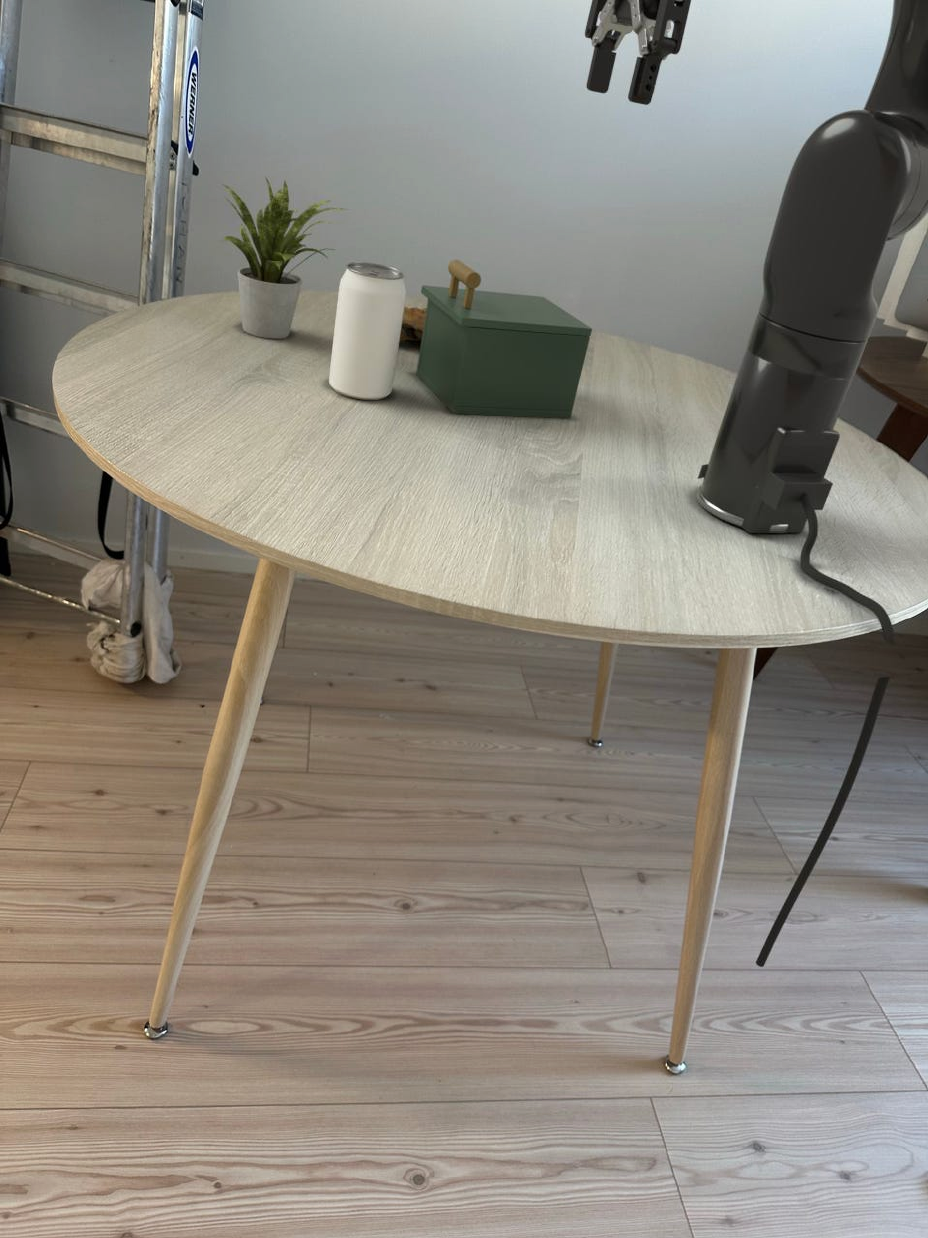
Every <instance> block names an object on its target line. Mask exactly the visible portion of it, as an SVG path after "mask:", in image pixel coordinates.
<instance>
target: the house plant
mask: <svg viewBox="0 0 928 1238" xmlns="http://www.w3.org/2000/svg"><path fill="white" fill-rule="evenodd" d="M264 177H265V181H266V185H267V190H268V195H269V203H268V204H267V205H266V206H265V208H264V211H263V209H262V208H261V209H260V210H259V211H258V213H257V216H256V224H255V221H254V219H253V217H252V214H251V212H250V210H249V208H248V206H247V205H246V203H245V202H244V201H243V199H242V198H241V197H240V196H239V195H238V194H237V193H236V192H235V191H234V190H233V189H232V188H231V187H229V186H227V185H226V184H225V183H222V185H223V186H224V187H225V188H226V190H228V192H229V193H230V194H231V196H232V198H233V199H234V201H235V203H236V204H237V207H238V208H239V210H238V209H237V207H236V206H235V205H234V204H233V202H232V201H231V200H230V199H228V198H227V197H226V196H224V198H225V200H226V201H228V203H229V204H230V205H231V207H233V209H234V210H235V211H236V214H237V215H238V217H239V218H240V219H241V220H242V222H243V224H242V223H241V224H240V237H241V239H240V238H238V237H235V236H232V235H228V236H225V237H223V238H221V240H220V241H219V243H221V242H223V241H225V242H226V241H227V242H231V243H232V244H233V245H234V246H236V248H237V249H239V251H241V253H242V254H243V255H244V257H245V258H246V261H247V262H248V265H249V266H245V267H241V268H239V269H238V270H237V280H238V291H239V301H240V313H241V322H242V324H241V325H242V330H243V331H244V332H246V333H248V334H249V335H252V336H255V337H259V338H263V339H264V338H265V339H285V338H288V337H289V335H290V332H291V328H292V324H293V319H294V317H295V312H296V308H297V304H298V301H299V297H300V293H301V288H302V285H303V279H302V278H301V277H300V276H298V275H296V274H294V273H291V272H292V271H293V270H295V269H296V268H297V267H298V266H299V265H301V264H302V263H303V262H305V261H307V260H308V259H309V258H310V257H312V256H313V255H316V254H317V253H318V254H321V255H322V256H323V257H325V258H326V259H328V256H327V255H326V254H324V253H323V252H322V251H335V249H333V248H322V249H319V250H318V249H317V248H312V247H311V248H310V247H307V246H306V244H302V243H301V242H302V241H303V240H304V239H305V238H306V237H308V236H312V233H306V232H307V230H309V229H310V228H311V227H313V226H315V225H318V224H322V223H323V224H325V223H326V224H332V222H330V221H326V220H318V221H316V222H314V223H312V224H310V225H308V227H306V229H305V230H304V231H303V232H302V233H301V234H300V235H299V233H300V232H301V230H302V229H303V227H304V226H305V225H306V224H307V223H308V221H310V220H311V219H312V218H313V217H315V216H317V215H318V214H320V213H323V212H325V211H329V210H339V211H340V210H345V211H347V210H348V209H347V208H342V207H326V208H321V209H319V208H320V207H321V206H322V205H325V204H327V203H329V202H330V203H331V200H323V201H318V202H316V203H313V204H312V205H310V206H308V208H306V209H305V210H304V211H303V212H302V213H300V215H298V217H294V218H293V215H294V212H297V213H298V212H299V210H297V209H294V210H292V209H290V196H289V195H290V194H289V186H288V183H287V182H286V179H284V181H283V186H282V188H281V189H279V190H278V191H277V192H276V193H275V194H274V193H273V190H272V186H271V183H270V181H269V180H268V178H267V176H264ZM239 211H240V212H239ZM292 222H293V223H292ZM291 223H292V225H291ZM290 225H291V226H290ZM245 226H246V227H245ZM289 227H290V228H289ZM246 228H247V230H248V233H249V234H250V237H251V240H252V242H251V240H250V237H249V235H248V233H247V230H246ZM287 230H288V231H287ZM298 235H299V236H298ZM252 243H253V244H252ZM253 245H254V246H253ZM303 247H304V248H303ZM304 252H305V253H306V252H313V253H311V254H310V255H308V257H306V258H304V260H302V261H301V262H299V263H298V264H296V265H295V266H294V267H292V269H291V270H290V271H286V270H285V268H286V267H287V266H288V264H289V263H290V261H291V260H293V259H294V258H295V257H296V256H298V255H299V254H301V253H304Z"/></svg>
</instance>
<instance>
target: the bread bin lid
mask: <svg viewBox="0 0 928 1238" xmlns="http://www.w3.org/2000/svg"><path fill="white" fill-rule="evenodd" d="M447 271H448V273H449V274H450V275H451V278H450V283H449V287H446V286H445V287H444V286H436V285H435V286H434V285H425V284H422V285H421V290H420V293H421V294H422V295H423V296H424V297H426V298H427V300H428V299H429V300H430V301H432V302H433V303H434V304H435V305H436V306H438V307H439V308H440V309H441V310H442V311H444V312H445V313H446V314H447V315H448V316H450V317H451V318H452V319H453V320H454V321H456V322H457V323H458V324H459V325H460V326H468V327H480V328H493V329H505V330H518V331H530V332H543V333H555V334H568V335H581V336H589V337H591V335H592V332H593V328H592V327H590V326H588V325H587V324H586V323H584V322H583V321H581V320H579V319H578V318H577V317H575V316H574V315H572V314H570V313H568V311H566V310H564V309H563V308H561V307H560V306H559V305H557V304H555V303H554V302H553V301H550V299H547V298H546V297H544V296H538V295H529V294H518V293H508V292H496V291H486V290H476V289H477V288H478V287H479V286H480V285H481V283H482V277H481V275H480V274H479V273H478V272H477V271H475V270H474V269H473V268H471V267H470V266H468V265H467V264H465V263H464V262H463V261H462V260H459V259H453V260H451V261H450V262H449V264H448V267H447ZM460 283H462V284H463V285H464V286H465V288H459V286H460Z"/></svg>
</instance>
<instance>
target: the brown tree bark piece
mask: <svg viewBox="0 0 928 1238" xmlns="http://www.w3.org/2000/svg"><path fill="white" fill-rule="evenodd" d="M426 309H427V307H424V308H418V307H407V306H404V312H403V319H402V326H401V333H400V340H399V342H404V341H407V340H410V341H421V340H422V334H423V328H424V322H425V315H426Z"/></svg>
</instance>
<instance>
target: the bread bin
mask: <svg viewBox="0 0 928 1238" xmlns="http://www.w3.org/2000/svg"><path fill="white" fill-rule="evenodd" d="M426 308H427V309H426V315H425V322H424V328H423V334H422V340H420V341H421V342H420V347H419V354H418V360H417V366H416V372H415V375H416V377H418V378H419V380H421V381H422V383H423V384H424V385H425V386H426V387H427V388H428V389H429V390H430V391H431V392H432V393H433V394H434V395H435V396H436V397H437V398H438V399H439V400H440V402H442V403H443V405H444V406H445V407H447V409H448V410H449V411H450V412H451V413H452V414H453V415H477V416H498V417H499V416H501V417H505V416H506V417H525V418H526V417H527V418H547V419H548V418H549V419H550V418H551V419H552V418H553V419H571V417H572V411H573V408H574V405H575V401H576V397H577V393H578V389H579V383H580V379H581V377H582V372H583V367H584V363H585V359H586V356H587V352H588V347H589V344H590V343H589V342H590V339H591V336H581V335H568V334H555V333H543V332H530V331H518V330H505V329H493V328H480V327H468V326H460V325H459V324H458V323H457V322H456V321H454V320H453V319H452V318H451V317H450V316H448V315H447V314H446V313H445V312H444V311H442V310H441V309H440V308H439V307H438V306H436V305H435V304H434V303H433V302H432V301H430V300H429V299H428V298H427V303H426Z"/></svg>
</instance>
